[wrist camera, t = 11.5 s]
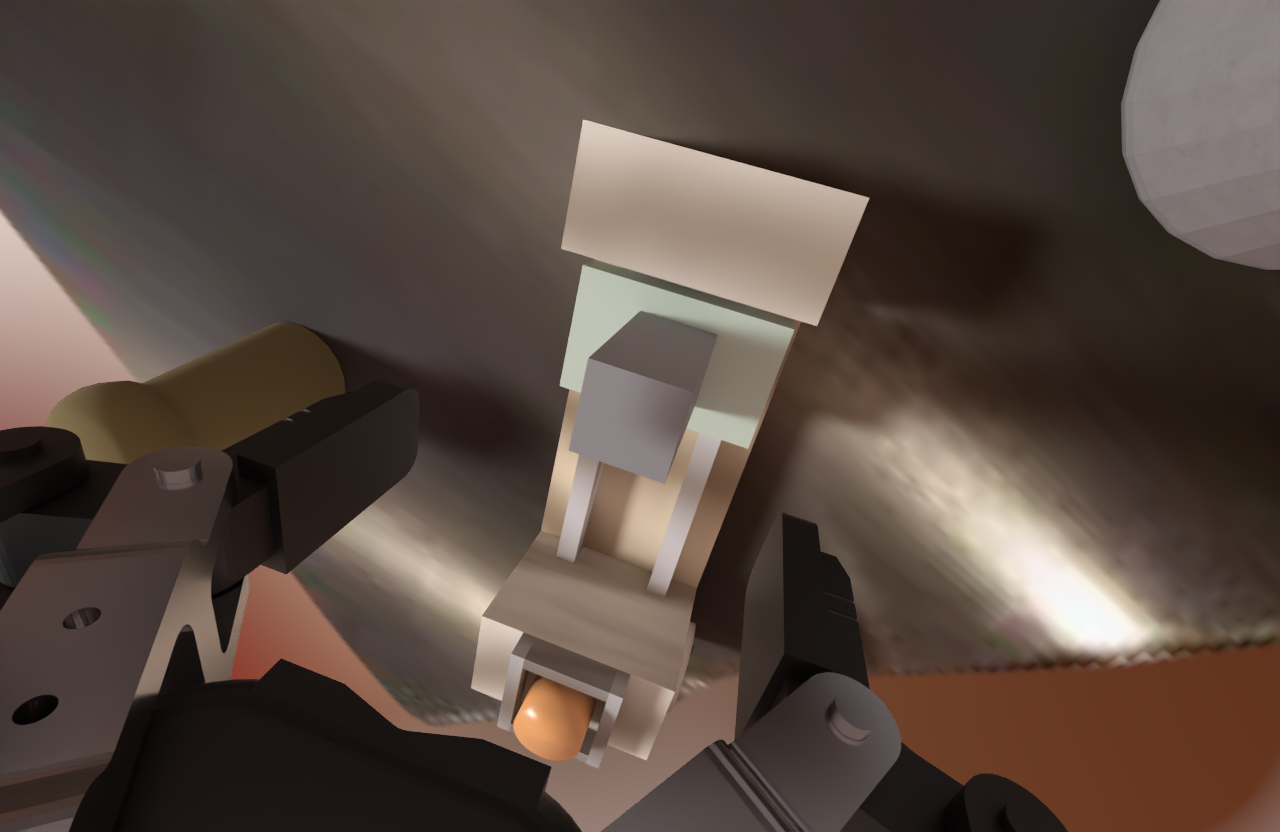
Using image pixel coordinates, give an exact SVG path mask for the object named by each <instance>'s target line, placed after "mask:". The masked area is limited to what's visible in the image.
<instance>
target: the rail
mask: <svg viewBox="0 0 1280 832" xmlns="http://www.w3.org/2000/svg"><path fill="white" fill-rule="evenodd" d="M868 200H869V198H868V197H865V196H861V195H857V194H854V193H850V192H846V191H843V190H839V189H835V188H832V187H828V186H824V185H821V184H817V183H813V182H810V181H806V180H802V179H799V178H795V177H791V176H788V175H784V174H780V173H777V172H773V171H769V170H766V169H762V168H758V167H755V166H751V165H747V164H744V163H740V162H736V161H733V160H729V159H725V158H722V157H718V156H714V155H711V154H707V153H703V152H700V151H696V150H693V149H689V148H685V147H682V146H678V145H674V144H671V143H667V142H663V141H660V140H656V139H652V138H649V137H645V136H641V135H638V134H634V133H630V132H627V131H623V130H619V129H616V128H612V127H608V126H605V125H601V124H597V123H594V122H590V121H586V120H583V124H582V130H581V136H580V142H579V148H578V153H577V159H576V165H575V171H574V177H573V183H572V188H571V194H570V200H569V206H568V212H567V217H566V223H565V229H564V235H563V241H562V246H561V249H564V250H567V251H571V252H574V253H577V254H581V255H584V256H587V257H590V258H594V259H596V260H598V261H602V262H605V263H608V264H611V265H615V266H618V267H621V268H625V269H628V270H631V271H634V272H638V273H641V274H644V275H648V276H651V277H654V278H658V279H661V280H664V281H667V282H671V283H674V284H677V285H681V286H684V287H687V288H690V289H694V290H697V291H700V292H704V293H707V294H710V295H713V296H717V297H720V298H723V299H727V300H730V301H733V302H737V303H740V304H743V305H746V306H750V307H753V308H756V309H760V310H763V311H766V312H769V313H773V314H776V315H779V316H783V317H786V318H789V319H793V320H794V328H795V330H794V333H793V335H792V338H791V340H790V343H789V345H788V348H787V351H786V353H785V356H784V358H783V361H782V363H781V366H780V369H779V371H778V374H777V376H776V379H775V381H774V384H773V386H772V389H771V392H770V394H769V397H768V399H767V402H766V404H765V407H764V410H763V412H762V415H761V417H760V420H759V422H758V425H757V427H756V430H755V433H754V435H753V438H752V440H751V443H750V445H749V448H748V449H747V448H744V447H741V446H738V445H735V444H732V443H729V442H726V441H723V440H720V439H717V438H714V437H711V436H708V435H705V434H702V433H699V432H696V431H693V430H690V429H687V428H686V430H685V433H684V435H683V438H682V440H681V443H680V445H679V448H678V451H677V453H676V456H675V458H674V461H673V463H672V466H671V469H670V471H669V474H668V476H667V479H666V481H665V484H663V483H660V482H657V481H654V480H652V479H649V478H646V477H643V476H640V475H637V474H634V473H631V472H629V471H626V470H623V469H620V468H617V467H614V466H611V465H608V464H606V463H603V462H600V461H597V460H594V459H591V458H588V457H586V456H583V455H580V454H577V453H574V452H571V451H568V450H569V446H570V441H571V436H572V432H573V427H574V422H575V418H576V413H577V408H578V404H579V399H580V394H581V393H580V392H577V391H574V390H571V389H570V390H569V395H568V400H567V405H566V410H565V415H564V420H563V425H562V430H561V435H560V440H559V445H558V449H557V454H556V459H555V464H554V469H553V474H552V479H551V484H550V489H549V494H548V499H547V504H546V509H545V514H544V519H543V524H542V528H541V532H540V533H539V534H538V536H537V537H536V539H535V540H534V542H533V543H532V545H531V546H530V547H529V549H528V550H527V552H526V553H525V555H524V556H523V558H522V559H521V560H520V562H519V563H518V565H517V566H516V568H515V569H514V571H513V572H512V573H511V575H510V576H509V578H508V579H507V581H506V582H505V584H504V585H503V586H502V588H501V589H500V591H499V592H498V594H497V595H496V597H495V598H494V599H493V601H492V602H491V604H490V605H489V607H488V608H487V610H486V611H485V613H484V614H483V615H482V620H481V627H480V633H479V640H478V646H477V653H476V659H475V666H474V672H473V679H472V685H471V688H472V689H474V690H477V691H479V692H481V693H484V694H486V695H489V696H491V697H494V698H496V699H498V700H501V701H502V703H501V708H500V713H499V718H498V724H497V727H500V728H502V729H504V730H507V731H509V732H512V733H514V734H515V732H514V727H513V724H514V720H515V718H516V716H517V714H518V712H519V710H520V708H521V706H522V704H523V702H524V700H525V698H526V696H527V694H528V692H529V690H530V688H531V686H532V684H533V682H534V680H535V678H536V677H537V676H538V675H540V676H543V677H545V678H547V679H550V680H552V681H555V682H557V683H560V684H562V685H565V686H567V687H570V688H572V689H575V690H577V691H580V692H582V693H585V694H587V695H590V696H592V697H595V699H596V706H595V710H594V712H593V715H592V718H591V721H590V724H589V726H588V729H587V732H586V735H585V738H584V740H583V743H582V746H581V749H580V751H579V753H578V755H577V756H576V757H574V759H576V760H579V761H581V762H583V763H586V764H588V765H590V766H593V767H595V768H599V765H600V763H601V760H602V757H603V754H604V751H605V749H606V746H607V744H608V745H610V746H613V747H615V748H618V749H620V750H622V751H625V752H627V753H630V754H632V755H634V756H637V757H639V758H642V759H645V760H647V758H648V755H649V753H650V750H651V748H652V746H653V743H654V741H655V738H656V736H657V734H658V731H659V729H660V727H661V724H662V722H663V719H664V717H665V715H666V714H667V715H669V714H670V712H671V711H672V709H673V706H674V704H675V701H676V699H677V696H678V693H679V690H680V687H681V684H682V681H683V678H684V675H685V672H686V668H687V665H688V661H689V658H690V656H691V653H692V651H693V647H694V645H693V640H694V635H695V628H696V624H695V623H693V622H690V618H691V613H692V609H693V604H694V599H695V594H696V589H697V586H698V584H699V581H700V579H701V576H702V574H703V571H704V569H705V566H706V564H707V561H708V558H709V556H710V553H711V551H712V548H713V546H714V543H715V541H716V538H717V536H718V533H719V531H720V528H721V525H722V523H723V520H724V518H725V515H726V513H727V510H728V508H729V505H730V503H731V500H732V497H733V495H734V492H735V490H736V487H737V485H738V482H739V480H740V477H741V475H742V472H743V470H744V467H745V464H746V462H747V459H748V457H749V454H750V452H751V449H752V447H753V444H754V442H755V439H756V437H757V434H758V431H759V429H760V426H761V424H762V421H763V419H764V416H765V414H766V411H767V409H768V406H769V403H770V401H771V398H772V396H773V393H774V391H775V388H776V386H777V383H778V381H779V378H780V376H781V373H782V370H783V368H784V365H785V363H786V360H787V358H788V355H789V353H790V350H791V348H792V345H793V343H794V340H795V337H796V335H797V332H798V330H799V327H800V325H801V322H805V323H808V324H811V325H814V326H817V325H818V323H819V320H820V318H821V315H822V313H823V310H824V308H825V306H826V303H827V301H828V298H829V296H830V293H831V291H832V288H833V286H834V284H835V281H836V279H837V276H838V274H839V271H840V269H841V266H842V264H843V262H844V259H845V257H846V254H847V252H848V249H849V247H850V244H851V242H852V239H853V237H854V235H855V232H856V230H857V227H858V225H859V222H860V220H861V217H862V215H863V213H864V210H865V208H866V205H867V203H868Z"/></svg>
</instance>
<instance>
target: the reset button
mask: <svg viewBox="0 0 1280 832" xmlns="http://www.w3.org/2000/svg"><path fill="white" fill-rule="evenodd" d="M595 706H596V699H595V697H592V696H590V695H587V694H585V693H582V692H580V691H577V690H575V689H572V688H570V687H567V686H565V685H562V684H560V683H557V682H555V681H552V680H550V679H547V678H545V677H543V676H540V675H538V676H537V677H536V678H535V680H534V682H533V684H532V686H531V688H530V690H529V692H528V694H527V696H526V698H525V700H524V702H523V704H522V706H521V708H520V710H519V712H518V714H517V716H516V718H515V720H514V724H513V727H514V732H515V734H516V736H517V738H518V740H519V741H520V742H521V743H522V745H524V746H525V747H526V748H527V749H528V750H530V751H531V752H532V753H534V754H536V755H538V756H540V757H542V758H545V759H548V760H553V761H566V760H570V759H572V758H574V757H576V756H577V755H578V753H579V751H580V749H581V746H582V743H583V740H584V738H585V735H586V732H587V729H588V726H589V724H590V721H591V718H592V715H593V712H594V710H595Z"/></svg>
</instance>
